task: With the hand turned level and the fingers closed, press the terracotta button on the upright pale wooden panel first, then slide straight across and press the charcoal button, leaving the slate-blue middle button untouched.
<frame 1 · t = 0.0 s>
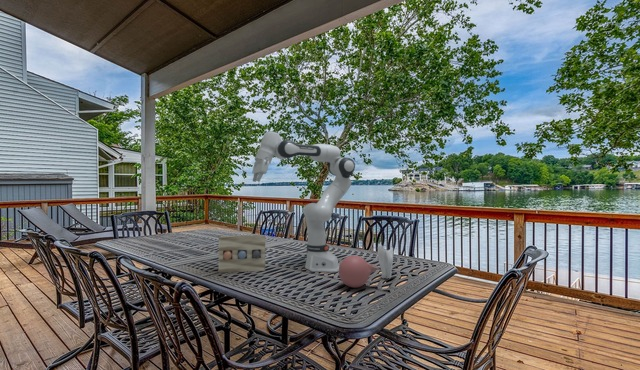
hand: (255, 181, 169), 52 cm above the table, tool tilted 20°, fingers open, 8 cm apart
pink bulb with spout: (358, 287, 150), on the table
shell sculpture: (386, 278, 165), on the table
button panel: (242, 271, 176), on the table
terracotta button: (227, 255, 173), point 10 cm above the table, slide at 0.0 cm
slate button: (242, 254, 174), point 10 cm above the table, slide at 0.0 cm
charcoal button: (256, 254, 176), point 10 cm above the table, slide at 0.0 cm
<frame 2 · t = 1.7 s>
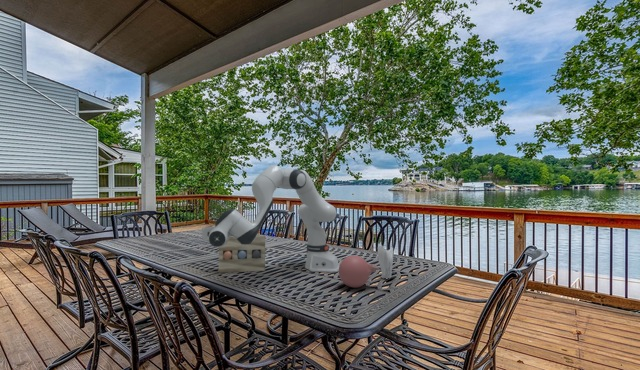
hand: (225, 229, 159), 26 cm above the table, tool horizontal, fingers open, 7 cm apart
nothing on the table moved.
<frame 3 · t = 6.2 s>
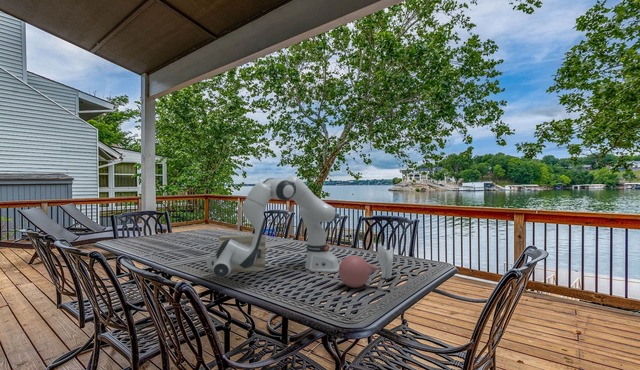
hand: (227, 256, 171), 10 cm above the table, tool horizontal, fingers closed, pressing on terracotta button
terracotta button: (227, 255, 173), point 10 cm above the table, slide at 0.3 cm, touching gripper
everything else where it was.
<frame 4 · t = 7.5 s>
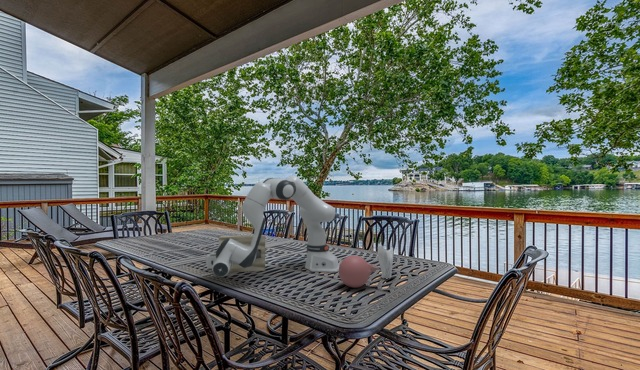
hand: (227, 255, 171), 10 cm above the table, tool horizontal, fingers closed
terracotta button: (228, 254, 174), point 10 cm above the table, slide at 1.6 cm
everything else where it was.
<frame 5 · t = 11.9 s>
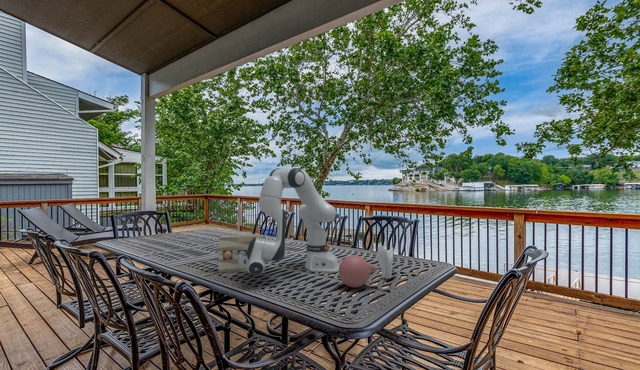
hand: (256, 254, 174), 10 cm above the table, tool horizontal, fingers closed, pressing on charcoal button
charcoal button: (256, 253, 176), point 10 cm above the table, slide at 0.3 cm, touching gripper
everything else where it was.
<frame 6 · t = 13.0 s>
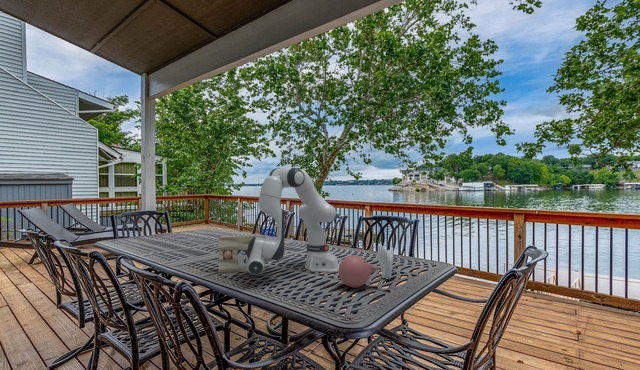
hand: (256, 254, 175), 10 cm above the table, tool horizontal, fingers closed
charcoal button: (256, 253, 177), point 10 cm above the table, slide at 1.7 cm
everything else where it was.
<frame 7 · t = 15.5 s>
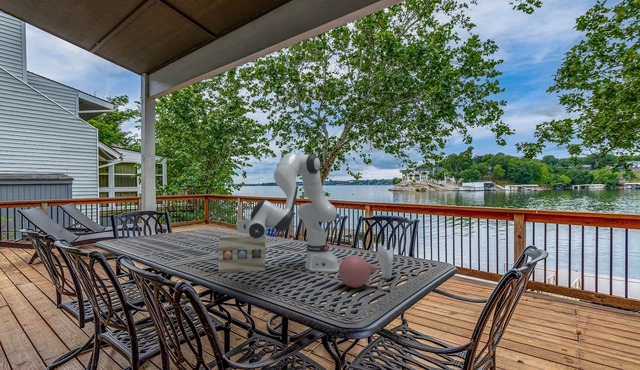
hand: (257, 222, 163), 30 cm above the table, tool horizontal, fingers closed
nothing on the table moved.
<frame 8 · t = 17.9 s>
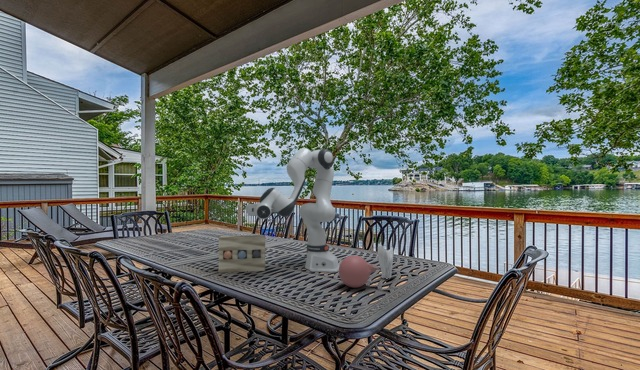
hand: (263, 207, 187), 36 cm above the table, tool horizontal, fingers closed
nothing on the table moved.
at the end: terracotta button slide at 1.6 cm; charcoal button slide at 1.7 cm; slate button slide at 0.0 cm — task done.
